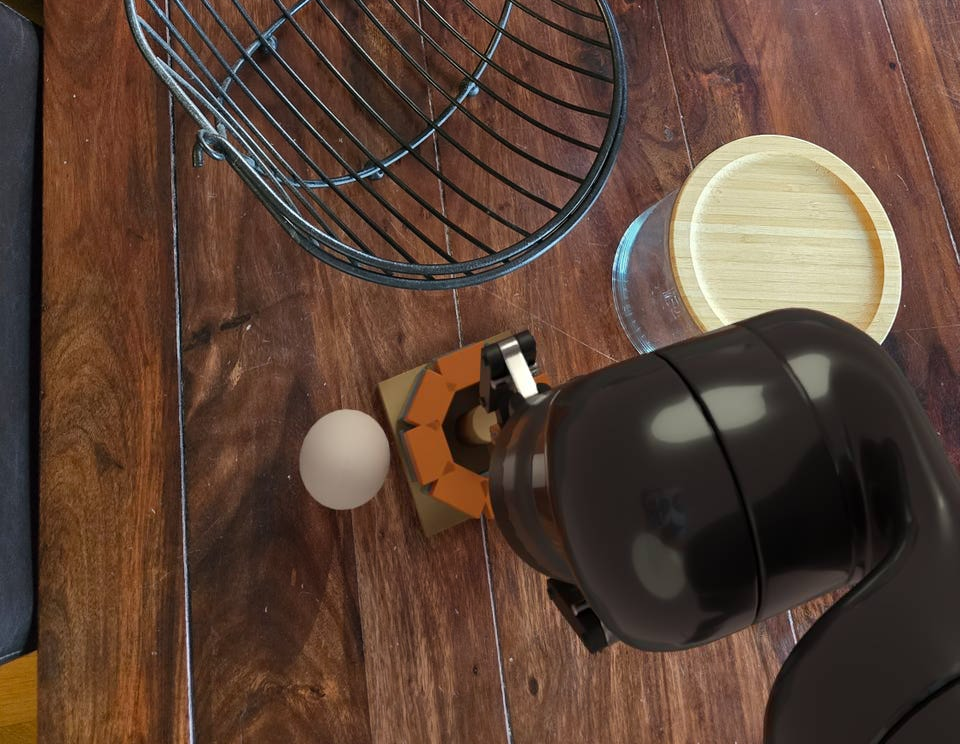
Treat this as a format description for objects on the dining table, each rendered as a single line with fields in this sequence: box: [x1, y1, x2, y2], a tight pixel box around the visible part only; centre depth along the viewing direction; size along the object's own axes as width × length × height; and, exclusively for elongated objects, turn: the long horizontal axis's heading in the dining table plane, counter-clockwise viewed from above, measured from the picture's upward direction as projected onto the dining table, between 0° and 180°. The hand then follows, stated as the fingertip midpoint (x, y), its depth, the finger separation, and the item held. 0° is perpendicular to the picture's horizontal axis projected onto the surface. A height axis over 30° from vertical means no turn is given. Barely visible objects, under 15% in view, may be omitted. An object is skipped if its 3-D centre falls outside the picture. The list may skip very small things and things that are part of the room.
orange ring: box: [403, 340, 553, 520], centre depth 66 cm, size 9×9×2 cm
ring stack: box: [376, 329, 540, 538], centre depth 68 cm, size 9×9×9 cm
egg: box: [299, 408, 391, 511], centre depth 67 cm, size 5×5×7 cm
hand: (521, 486), depth 61 cm, fingers open, 4 cm apart
